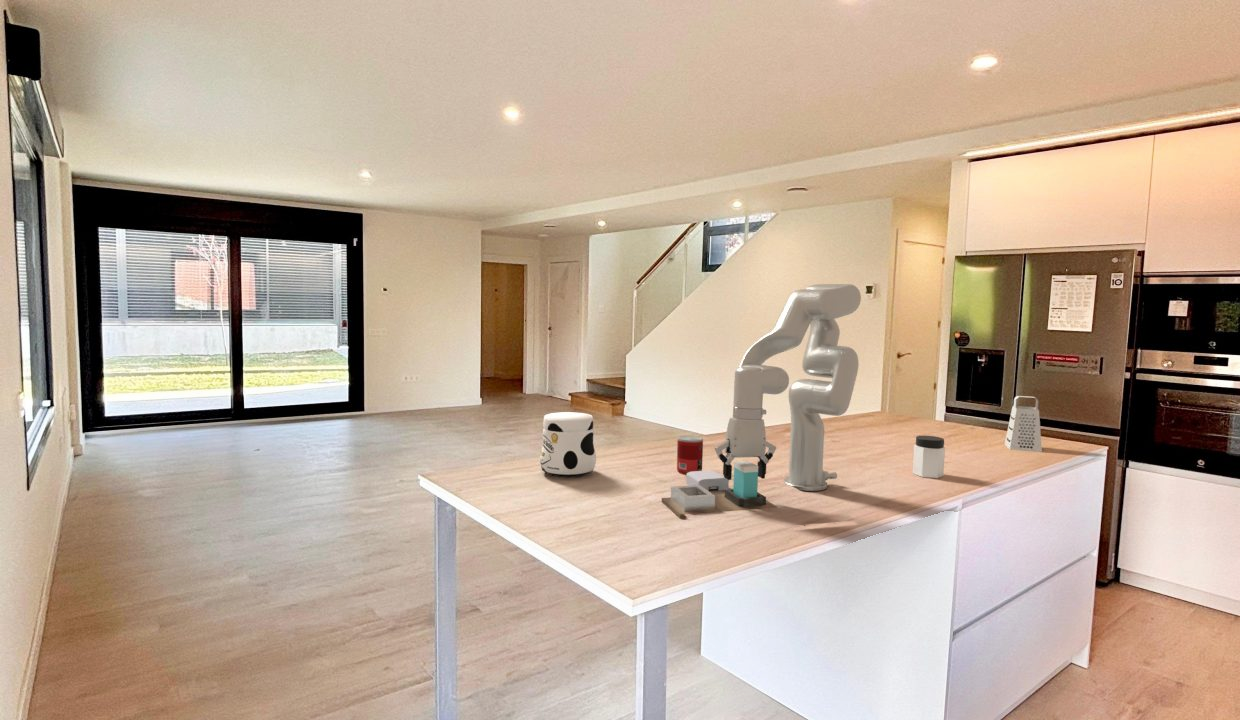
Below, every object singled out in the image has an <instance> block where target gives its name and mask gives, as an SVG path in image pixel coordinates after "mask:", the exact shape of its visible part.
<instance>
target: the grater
mask: <svg viewBox="0 0 1240 720" xmlns="http://www.w3.org/2000/svg"><path fill="white" fill-rule="evenodd" d="M1019 398H1028V399H1029V398H1031V399H1032V398H1033V399H1035V407H1034V406H1024V405H1023V406H1022V405H1021V406H1020V405H1017V399H1019ZM1041 433H1042V432H1041V421H1040V410H1039V400H1038V398H1037V397H1035V396H1027V395H1025V396H1024V395H1016V396H1015V397H1014V399H1013V405H1012V408H1011V412H1010V417H1009V421H1008V427H1007V431H1006V436H1005V441H1004V445H1005V446H1006V448H1007V449H1009V450H1010V451H1025V452H1034V453H1035V452H1037V453H1043V450H1042V449H1043V448H1042V435H1041ZM1031 447H1032V448H1031Z"/></svg>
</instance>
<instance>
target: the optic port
mask: <svg viewBox="0 0 1240 720" xmlns="http://www.w3.org/2000/svg"><path fill="white" fill-rule="evenodd" d="M715 495H716V494H713V493H712V492H710V491H707V490H706V489H705V488H703V487H702V486H700V485H692V486H689V485H681V486H680V485H679V486H670V497H671V500H672V501H673V502H674V503H675V504H676V505H677V506H679V507H680V508H681V509H682V510H683V511H684V512H685V511H699V510H713V509H715Z"/></svg>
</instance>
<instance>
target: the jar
mask: <svg viewBox="0 0 1240 720" xmlns="http://www.w3.org/2000/svg"><path fill="white" fill-rule="evenodd" d="M945 454H946V447H945V439H944V438H943V437H939V436H935V435H917V436H915V444H914V446H913V462H912V464H913V465H912V474H913V475H916V476H918V477H921V478H929V479H939V478H942V477H943V476H944V472H945V471H944V469H945V457H946V456H945Z"/></svg>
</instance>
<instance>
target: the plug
mask: <svg viewBox="0 0 1240 720" xmlns="http://www.w3.org/2000/svg"><path fill="white" fill-rule="evenodd" d="M757 465H758V464H755V463H753V462H751V461H749V460H739V461H737V460H736V461H735V460H734V461H733V485H732V486H733V488H732V489H733V493H735V494H736V495H738V496H740V497H741V498H750V497H757V492H758V486H759V485H758V484H759V482H758V481H759V477H758V466H757Z"/></svg>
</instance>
